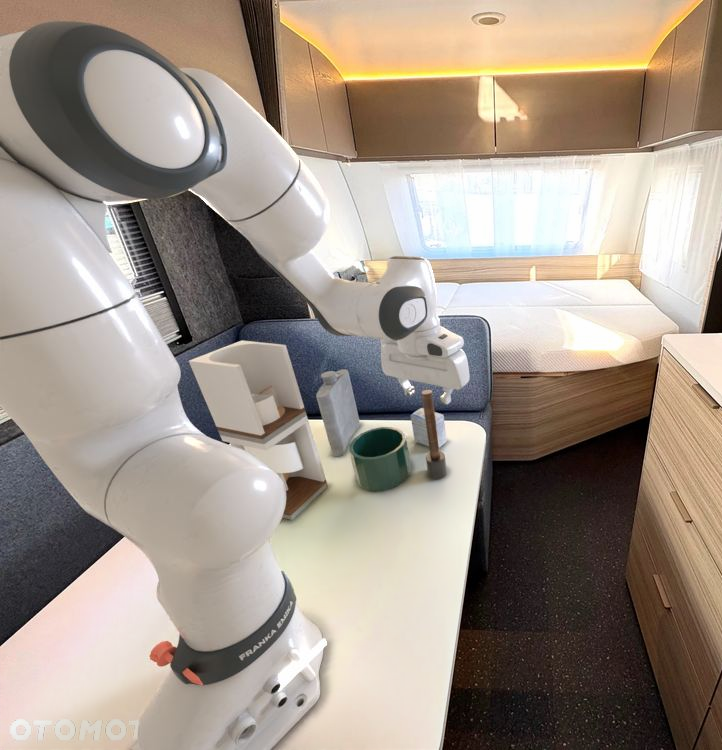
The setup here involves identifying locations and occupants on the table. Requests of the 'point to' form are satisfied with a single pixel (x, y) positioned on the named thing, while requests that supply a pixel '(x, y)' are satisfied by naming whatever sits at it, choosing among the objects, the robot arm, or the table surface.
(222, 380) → the white storage rack
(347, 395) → the hip flask
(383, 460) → the canister
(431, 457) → the wooden plunger stick
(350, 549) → the table surface
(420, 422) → the medicine box
